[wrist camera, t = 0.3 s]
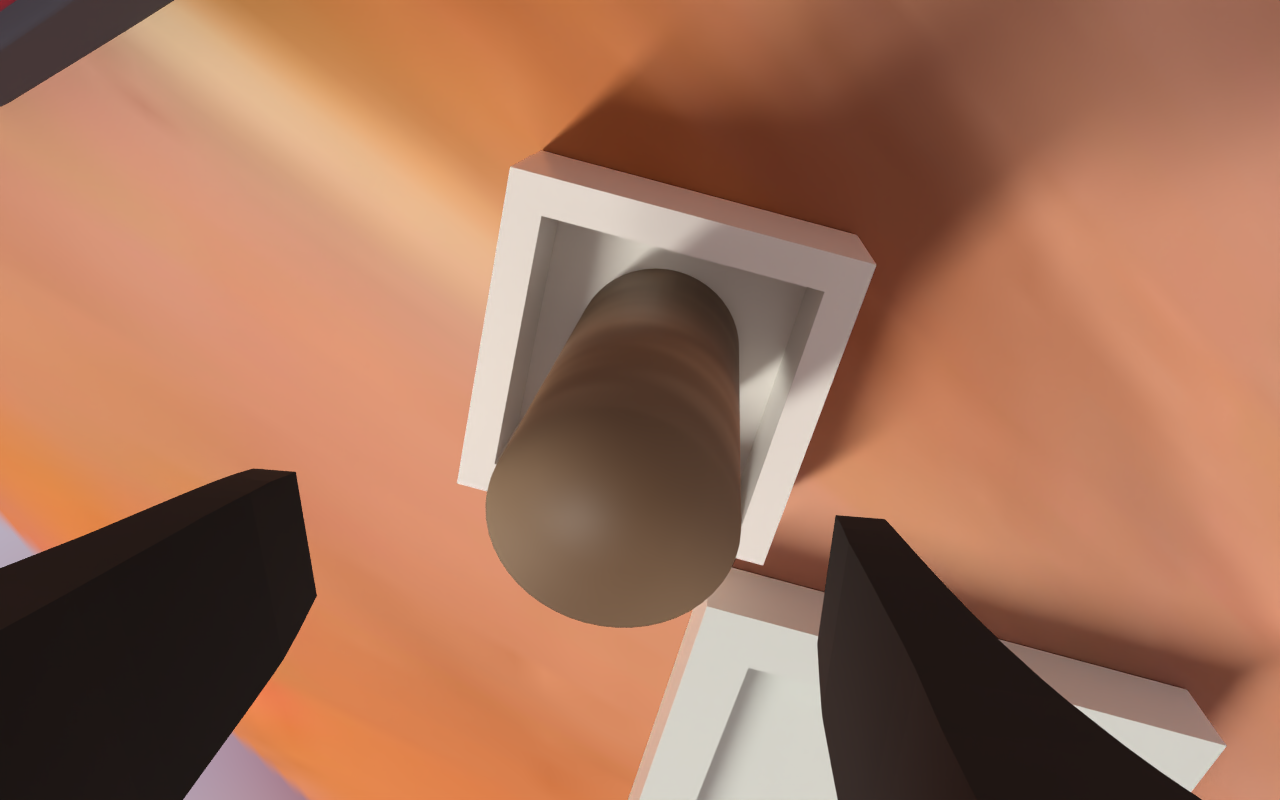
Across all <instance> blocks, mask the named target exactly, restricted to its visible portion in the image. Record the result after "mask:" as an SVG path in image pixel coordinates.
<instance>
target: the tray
mask: <svg viewBox="0 0 1280 800" xmlns="http://www.w3.org/2000/svg"><path fill="white" fill-rule="evenodd" d="M824 593H825V592H821V591H818V590H814V589H810V588H806V587H803V586H799V585H795V584H791V583H788V582H784V581H780V580H777V579H773V578H769V577H765V576H762V575H758V574H754V573H750V572H747V571H743V570H739V569H736V568H732V567H731V570H730V572H729V573H728V575H727V576H726V578H725V579H724V581H723V582H722V584H721V585H720V586H719V587H718V588H717V589H716V591H715V592H714V593H713V594H712V595H711V596H710V597H708V598H707V599H706V600H705V601H704V602H703V603H701V604H700V605H698V606H697V607H695V608H694V609H693V611H692V614H691V617H690V620H689V622H688V625H687V628H686V631H685V634H684V637H683V640H682V643H681V646H680V649H679V652H678V655H677V658H676V661H675V663H674V666H673V669H672V672H671V675H670V678H669V681H668V684H667V687H666V690H665V693H664V696H663V699H662V701H661V704H660V707H659V710H658V713H657V716H656V719H655V722H654V725H653V728H652V731H651V734H650V737H649V740H648V742H647V745H646V748H645V751H644V754H643V757H642V760H641V763H640V766H639V769H638V772H637V775H636V778H635V781H634V783H633V786H632V789H631V792H630V795H629V798H628V800H838V799H837V794H836V789H835V784H834V779H833V773H832V768H831V763H830V757H829V752H828V746H827V741H826V736H825V730H824V725H823V719H822V710H821V697H820V683H819V666H818V650H817V641H818V634H819V627H820V620H821V613H822V606H823V599H824ZM999 640H1000V639H999ZM1000 641H1001V642H1002V643H1003V644H1004V645H1005V646H1006V647H1007V648H1009V649H1010V650H1011V651H1012V652H1013V653H1014V654H1015V655H1016V656H1017V657H1018V658H1020V659H1021V660H1022V661H1023V662H1024V663H1025V664H1026V665H1027V666H1028V667H1029V668H1031V669H1032V670H1033V671H1034V672H1035V673H1036V674H1037V675H1038V676H1039V677H1040V678H1042V679H1043V680H1044V681H1045V682H1046V683H1047V684H1048V685H1050V686H1051V687H1052V688H1053V689H1054V690H1056V691H1057V692H1058V693H1059V694H1060V695H1062V696H1063V697H1064V698H1065V699H1066V700H1067V701H1069V702H1070V703H1071V704H1072V705H1074V706H1075V707H1076V708H1078V709H1079V710H1080V711H1081V712H1083V713H1084V714H1085V715H1086V716H1088V717H1089V718H1090V719H1092V720H1093V721H1094V722H1095V723H1097V724H1098V725H1099V726H1100V727H1102V728H1103V729H1104V730H1106V731H1107V732H1108V733H1109V734H1111V735H1112V736H1113V737H1114V738H1116V739H1117V740H1118V741H1120V742H1121V743H1122V744H1123V745H1125V746H1126V747H1127V748H1129V749H1130V750H1131V751H1133V752H1134V753H1136V754H1137V755H1138V756H1140V757H1141V758H1142V759H1144V760H1145V761H1147V762H1148V763H1149V764H1151V765H1152V766H1154V767H1155V768H1156V769H1158V770H1159V771H1160V772H1162V773H1163V774H1165V775H1166V776H1168V777H1169V778H1171V779H1172V780H1174V781H1175V782H1176V783H1178V784H1179V785H1181V786H1182V787H1184V788H1185V789H1187V790H1188V791H1190V792H1191V791H1192V790H1193V789H1194V788H1195V786H1196V785H1197V784H1198V782H1199V781H1200V780H1201V779H1202V777H1203V776H1204V775H1205V773H1206V772H1207V771H1208V769H1209V768H1210V767H1211V766H1212V764H1213V763H1214V762H1215V760H1216V759H1217V758H1218V757H1219V755H1220V754H1221V753H1222V751H1223V750H1224V749H1225V747H1226V744H1225V743H1224V741H1223V740H1222V739H1221V737H1220V736H1219V734H1218V733H1217V731H1216V730H1215V729H1214V727H1213V726H1212V724H1211V723H1210V721H1209V720H1208V719H1207V717H1206V716H1205V714H1204V713H1203V712H1202V710H1201V709H1200V707H1199V706H1198V704H1197V703H1196V702H1195V700H1194V699H1193V697H1192V696H1191V694H1190V693H1189V692H1188V690H1186V689H1182V688H1179V687H1175V686H1171V685H1168V684H1164V683H1160V682H1156V681H1153V680H1149V679H1145V678H1142V677H1138V676H1134V675H1130V674H1127V673H1123V672H1119V671H1115V670H1112V669H1108V668H1104V667H1101V666H1097V665H1093V664H1089V663H1086V662H1082V661H1078V660H1074V659H1071V658H1067V657H1063V656H1060V655H1056V654H1052V653H1048V652H1045V651H1041V650H1037V649H1034V648H1030V647H1026V646H1022V645H1019V644H1015V643H1011V642H1007V641H1004V640H1000Z"/></svg>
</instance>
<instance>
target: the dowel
mask: <svg viewBox="0 0 1280 800" xmlns="http://www.w3.org/2000/svg"><path fill="white" fill-rule="evenodd" d="M486 521H487V526H488V532H489V535H490V538H491V541H492V544H493V547H494V549H495V551H496V553H497V555H498V557H499V559H500V561H501V562H502V564H503V565H504V567H505V568H506V570H507V571H508V573H509V574H510V575H511V576H512V577H513V579H514V580H515V581H516V582H517V583H518V584H519V585H520V586H521V587H522V588H523V589H524V590H525V591H526V592H527V593H529V594H530V595H531V596H532V597H534V598H535V599H536V600H538V601H539V602H541V603H542V604H544V605H545V606H547V607H549V608H551V609H552V610H554V611H556V612H558V613H560V614H563V615H565V616H567V617H569V618H572V619H575V620H578V621H581V622H585V623H589V624H594V625H598V626H606V627H615V628H632V627H642V626H649V625H653V624H658V623H662V622H665V621H668V620H671V619H674V618H677V617H679V616H681V615H683V614H685V613H687V612H689V611H691V610H692V609H694V608H695V607H697V606H698V605H700V604H701V603H703V602H704V601H705V600H706V599H707V598H708V597H710V596H711V595H712V594H713V593H714V592H715V591H716V589H717V588H718V587H719V586H720V585H721V584H722V582H723V581H724V579H725V578H726V576H727V575H728V573H729V572H730V570H731V567H732V565H733V563H734V561H735V559H736V555H737V552H738V548H739V544H740V536H741V472H740V390H739V339H738V333H737V329H736V325H735V322H734V319H733V317H732V315H731V313H730V311H729V309H728V308H727V306H726V305H725V303H724V302H723V301H722V299H721V298H720V297H719V296H718V295H717V294H716V293H715V292H714V291H713V290H712V289H711V288H709V287H708V286H707V285H705V284H704V283H702V282H701V281H699V280H698V279H696V278H694V277H692V276H690V275H687V274H684V273H681V272H678V271H673V270H669V269H657V268H655V269H643V270H638V271H633V272H630V273H627V274H624V275H622V276H620V277H618V278H616V279H614V280H613V281H611V282H610V283H608V284H607V285H605V286H604V287H603V288H602V289H601V290H600V291H599V292H598V293H597V294H596V295H595V296H594V297H593V298H592V300H591V301H590V303H589V304H588V306H587V307H586V309H585V311H584V312H583V314H582V316H581V318H580V319H579V321H578V323H577V325H576V326H575V328H574V330H573V332H572V333H571V335H570V337H569V339H568V340H567V342H566V344H565V346H564V347H563V349H562V351H561V353H560V354H559V356H558V358H557V360H556V361H555V363H554V365H553V367H552V368H551V370H550V372H549V374H548V375H547V377H546V379H545V381H544V382H543V384H542V386H541V387H540V389H539V391H538V393H537V394H536V396H535V398H534V400H533V401H532V403H531V405H530V407H529V408H528V410H527V412H526V414H525V415H524V417H523V419H522V421H521V422H520V424H519V426H518V428H517V429H516V431H515V433H514V435H513V436H512V438H511V440H510V442H509V443H508V445H507V447H506V449H505V450H504V452H503V454H502V456H501V457H500V459H499V461H498V463H497V464H496V467H495V469H494V471H493V473H492V476H491V478H490V482H489V486H488V490H487V497H486Z"/></svg>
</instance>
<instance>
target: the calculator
mask: <svg viewBox="0 0 1280 800" xmlns="http://www.w3.org/2000/svg"><path fill="white" fill-rule="evenodd" d="M172 1H173V0H0V107H1V106H3V105H5V104H7V103H9V102H11V101H12V100H14V99H16V98H17V97H19V96H21V95H22V94H24V93H25V92H27V91H29V90H30V89H32V88H34V87H35V86H37V85H39V84H40V83H42V82H43V81H45V80H47V79H48V78H50V77H52V76H53V75H55V74H56V73H58V72H60V71H61V70H63V69H65V68H66V67H68V66H70V65H71V64H73V63H74V62H76V61H78V60H79V59H81V58H83V57H84V56H86V55H87V54H89V53H91V52H92V51H94V50H96V49H97V48H99V47H100V46H102V45H104V44H105V43H107V42H108V41H110V40H112V39H113V38H115V37H117V36H118V35H120V34H121V33H123V32H125V31H126V30H128V29H129V28H131V27H133V26H134V25H136V24H137V23H139V22H141V21H142V20H144V19H145V18H147V17H149V16H150V15H152V14H153V13H155V12H156V11H158V10H159V9H161V8H162V7H164V6H166V5H167V4H169V3H170V2H172Z"/></svg>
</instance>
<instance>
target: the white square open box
mask: <svg viewBox="0 0 1280 800" xmlns="http://www.w3.org/2000/svg"><path fill="white" fill-rule="evenodd" d="M655 268H657V269H669V270H673V271H678V272H681V273H684V274H687V275H690V276H692V277H694V278H696V279H698V280H699V281H701V282H702V283H704V284H705V285H707V286H708V287H709V288H711V289H712V290H713V291H714V292H715V293H716V294H717V295H718V296H719V297H720V298H721V299H722V301H723V302H724V303H725V305H726V306H727V308H728V309H729V311H730V313H731V315H732V317H733V319H734V322H735V325H736V329H737V333H738V339H739V390H740V472H741V536H740V544H739V548H738V552H737V555H736V558H737V559H741V560H744V561H748V562H752V563H756V564H759V565H763V564H764V561H765V559H766V556H767V554H768V551H769V548H770V546H771V543H772V540H773V538H774V535H775V532H776V530H777V527H778V524H779V522H780V519H781V516H782V514H783V511H784V509H785V506H786V503H787V501H788V498H789V495H790V493H791V490H792V487H793V485H794V482H795V479H796V477H797V474H798V471H799V469H800V466H801V464H802V461H803V458H804V456H805V453H806V450H807V448H808V445H809V442H810V440H811V437H812V434H813V432H814V429H815V426H816V424H817V421H818V419H819V416H820V413H821V411H822V408H823V405H824V403H825V400H826V397H827V395H828V392H829V389H830V387H831V384H832V381H833V379H834V376H835V374H836V371H837V368H838V366H839V363H840V360H841V358H842V355H843V352H844V350H845V347H846V344H847V342H848V339H849V336H850V334H851V331H852V328H853V326H854V323H855V321H856V318H857V315H858V313H859V310H860V307H861V305H862V302H863V299H864V297H865V294H866V291H867V289H868V286H869V283H870V281H871V278H872V276H873V273H874V270H875V268H876V263H875V262H874V260H873V259H872V257H871V256H870V254H869V252H868V251H867V249H866V248H865V246H864V245H863V243H862V242H861V240H860V239H859V237H858V236H857V235H855V234H852V233H848V232H844V231H840V230H837V229H833V228H829V227H825V226H822V225H818V224H814V223H811V222H807V221H803V220H799V219H796V218H792V217H788V216H784V215H781V214H777V213H773V212H770V211H766V210H762V209H758V208H755V207H751V206H747V205H743V204H740V203H736V202H732V201H728V200H725V199H721V198H717V197H714V196H710V195H706V194H702V193H699V192H695V191H691V190H687V189H684V188H680V187H676V186H673V185H669V184H665V183H661V182H658V181H654V180H650V179H646V178H643V177H639V176H635V175H632V174H628V173H624V172H620V171H617V170H613V169H609V168H605V167H602V166H598V165H594V164H590V163H587V162H583V161H579V160H576V159H572V158H568V157H564V156H561V155H557V154H553V153H549V152H546V151H542V150H541V151H539V152H537V153H535V154H533V155H531V156H529V157H527V158H526V159H524V160H522V161H520V162H518V163H516V164H514V165H512V166H510V171H509V177H508V183H507V189H506V195H505V201H504V207H503V213H502V218H501V224H500V230H499V236H498V242H497V248H496V254H495V260H494V266H493V272H492V278H491V284H490V290H489V296H488V302H487V308H486V314H485V320H484V326H483V332H482V338H481V344H480V349H479V355H478V361H477V367H476V373H475V379H474V385H473V391H472V397H471V403H470V409H469V415H468V421H467V427H466V433H465V439H464V445H463V451H462V457H461V463H460V469H459V475H458V480H457V483H458V484H461V485H465V486H469V487H473V488H476V489H480V490H484V491H487V490H488V486H489V482H490V478H491V476H492V473H493V471H494V469H495V467H496V464H497V463H498V461H499V459H500V457H501V456H502V454H503V452H504V450H505V449H506V447H507V445H508V443H509V442H510V440H511V438H512V436H513V435H514V433H515V431H516V429H517V428H518V426H519V424H520V422H521V421H522V419H523V417H524V415H525V414H526V412H527V410H528V408H529V407H530V405H531V403H532V401H533V400H534V398H535V396H536V394H537V393H538V391H539V389H540V387H541V386H542V384H543V382H544V381H545V379H546V377H547V375H548V374H549V372H550V370H551V368H552V367H553V365H554V363H555V361H556V360H557V358H558V356H559V354H560V353H561V351H562V349H563V347H564V346H565V344H566V342H567V340H568V339H569V337H570V335H571V333H572V332H573V330H574V328H575V326H576V325H577V323H578V321H579V319H580V318H581V316H582V314H583V312H584V311H585V309H586V307H587V306H588V304H589V303H590V301H591V300H592V298H593V297H594V296H595V295H596V294H597V293H598V292H599V291H600V290H601V289H602V288H603V287H604V286H605V285H607V284H608V283H610V282H611V281H613V280H614V279H616V278H618V277H620V276H622V275H624V274H627V273H630V272H633V271H638V270H643V269H655Z"/></svg>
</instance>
